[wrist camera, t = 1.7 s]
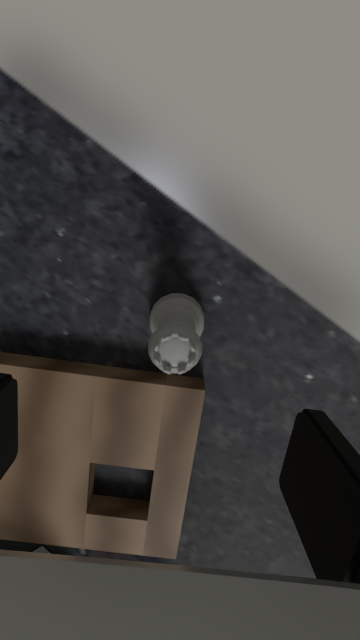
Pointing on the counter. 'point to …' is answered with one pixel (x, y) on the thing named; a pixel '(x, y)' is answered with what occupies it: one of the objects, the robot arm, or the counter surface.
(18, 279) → the counter surface
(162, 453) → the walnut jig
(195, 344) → the rook chess piece
